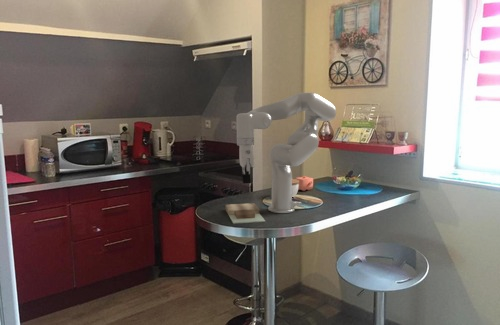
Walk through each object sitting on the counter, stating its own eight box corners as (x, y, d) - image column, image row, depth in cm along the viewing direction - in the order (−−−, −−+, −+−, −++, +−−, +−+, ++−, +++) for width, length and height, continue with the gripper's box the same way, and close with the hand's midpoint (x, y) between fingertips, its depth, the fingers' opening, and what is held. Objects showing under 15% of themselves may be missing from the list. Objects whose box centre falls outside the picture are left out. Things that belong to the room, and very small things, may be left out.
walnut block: (251, 213, 194) (251, 209, 194) (254, 217, 188) (254, 213, 187) (234, 214, 193) (234, 210, 193) (237, 218, 186) (237, 214, 186)
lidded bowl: (297, 200, 221) (297, 179, 219) (273, 199, 224) (273, 178, 222) (299, 195, 233) (300, 175, 232) (277, 194, 236) (277, 174, 234)
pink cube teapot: (306, 192, 239) (306, 178, 238) (292, 189, 249) (292, 175, 247) (316, 191, 243) (317, 177, 242) (302, 187, 253) (303, 174, 252)
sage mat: (259, 214, 195) (259, 213, 195) (265, 221, 184) (265, 220, 183) (229, 216, 192) (229, 215, 192) (233, 223, 181) (233, 222, 181)
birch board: (254, 208, 206) (254, 203, 205) (259, 214, 195) (259, 209, 195) (225, 209, 203) (225, 204, 203) (229, 216, 192) (229, 210, 192)
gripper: (257, 143, 179) (258, 185, 182) (250, 139, 193) (251, 179, 196) (240, 144, 177) (241, 186, 180) (234, 140, 192) (235, 179, 195)
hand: (246, 182), depth 188 cm, fingers closed
